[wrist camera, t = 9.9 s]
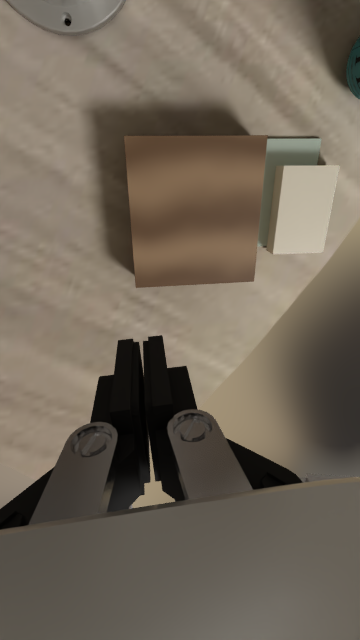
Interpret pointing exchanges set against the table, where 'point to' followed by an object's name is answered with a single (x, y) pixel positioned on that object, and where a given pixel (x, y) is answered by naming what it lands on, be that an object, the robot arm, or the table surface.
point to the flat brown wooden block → (194, 207)
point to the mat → (282, 155)
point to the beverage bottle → (354, 69)
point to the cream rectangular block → (301, 208)
